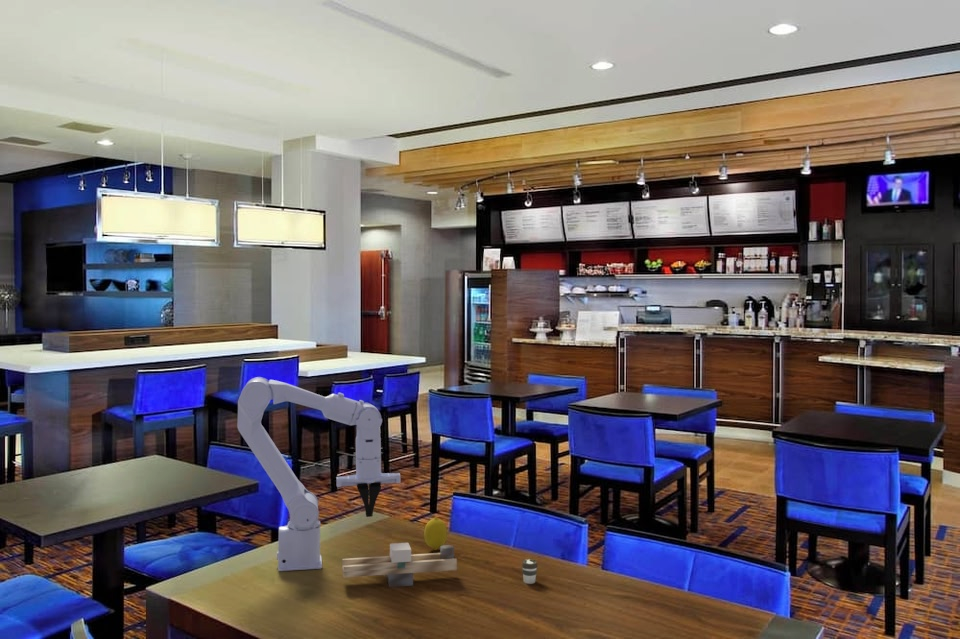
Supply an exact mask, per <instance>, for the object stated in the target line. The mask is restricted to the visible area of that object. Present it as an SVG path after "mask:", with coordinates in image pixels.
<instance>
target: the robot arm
mask: <svg viewBox="0 0 960 639" xmlns="http://www.w3.org/2000/svg"><path fill="white" fill-rule="evenodd" d="M238 397H239V398H238V400H237V426H236V428H237V431H238V432H239V433H240V436H241V437H242V438H243V439H244V441H245V443H246V444H247V445H248V447H249V449H250V450H251V452H252V453H253V454H254V456H255V458H256V460H257V461H258V462H259V463H260V465H261V466H262V468H263V470H264V471H265V472H266V474H267V476H268V477H269V478H270V480H271V482H272V483H273V485H274V486H275V487H276V489H277V490H278V493H280V495H281V498H282V501H283V503H284V505H285V506H286V508H287V510H288V513H289V521H288V522H287V525H284V526H279V527H278V542H277V543H278V544H277V545H278V546H277V549H278V551H276V560H277V562H278V563H277V564H278V566H277V571H278V572H286V571H287V572H288V571H299V570H300V571H303V570H319V569H322V568H323V561H322V555H321V521H320V520H319V517H320V511H319V508H318V507H319V499H318V497H317V496H316V495H315V494H314V493H313V492H311V491H309V490H308V489H307V488H306V487H305V485H304V484H303V483H302V482H301V481H300V480H299V479H298V477H297V476H296V474H295V473H294V471H293V470H292V468H291V467H290V465H289V464H288V462H287V461H286V459H285V457H284V456H283V455H282V453H281V452H280V450H279V449H278V447H277V445H276V444H275V442H274V441H273V439H272V438H271V437H270V435H269V433H268V432H267V430H266V429H265V427H264V426H263V425H262V419H263V416H264V413H265V410H266V409H267V407H268V405H269V404H270V402H271V400H273V401H272V402H273V403H272V404H273V405H277V404H280V403H284V402H290V403H293V404H297V405H301V406H303V407H304V406H305V407H307V408H312V409H315V410H319V411H321V413H322V415H323V418H325V419H329V420H332V421H335V422H338V423H341V424H345V425H348V426H356V437H355V474H350V475H345V476H344V475H342V476H336V477H335V478H336V487H337V488H342V487H351V486H356V488H357V491H358V494H359V495H360V497H361V500H362V502H363V505H364V511H365V517H367V518H369V517H370V518H371V517H373V514H374V508H375V505H376V502H377V499H378V497H379V494H380V492H381V490H382V484H401V483H402V482H401V473H400V472H390V473H389V472H387V473H385V472H382V450H381V448H382V442H381V441H382V438H381V426H382V423H383V418H382V415H381V412H380V411H379V409H378V408H377V407H376V406H375V405H373V404H371V403H369V402H365V401H364V400H362V399H359V401H358V400H355V399H352V398H349V397H345V394H344V393H342V392H337V394H336V393H331V394H329V395H327V396H323V395H322V394H321V395H320V394H319V393H318V394H317V393H315V392H312V391H310V390H307V389H304V388H301V387H298V386H296V385H293V384H290V383H287V382H283V381H279V380H276V379H275V380H274V379H269V380H268V379H267V378H265V377H261V376H257V377H253V378H251V379H249V380H248V381H247V382H246V383H245V385H244V386H243V388H242V390H241V392H240V395H239V396H238Z"/></svg>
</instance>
